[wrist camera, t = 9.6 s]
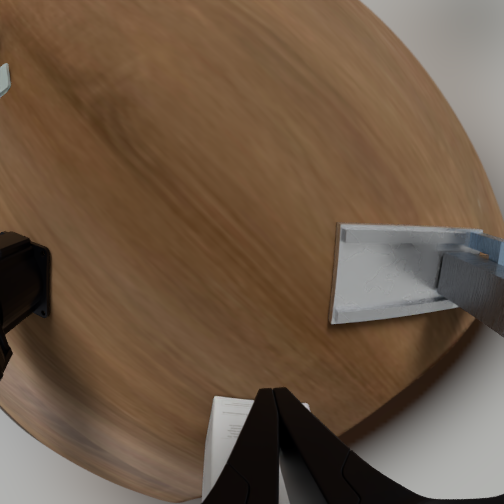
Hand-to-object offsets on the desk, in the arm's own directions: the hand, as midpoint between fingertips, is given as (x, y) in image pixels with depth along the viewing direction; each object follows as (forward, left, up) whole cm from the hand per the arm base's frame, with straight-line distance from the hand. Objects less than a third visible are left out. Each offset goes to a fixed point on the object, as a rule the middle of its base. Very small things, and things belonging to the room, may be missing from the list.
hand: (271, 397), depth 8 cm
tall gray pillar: (+5, -19, -11) cm, 22 cm away
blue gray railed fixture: (+4, -13, -12) cm, 18 cm away
